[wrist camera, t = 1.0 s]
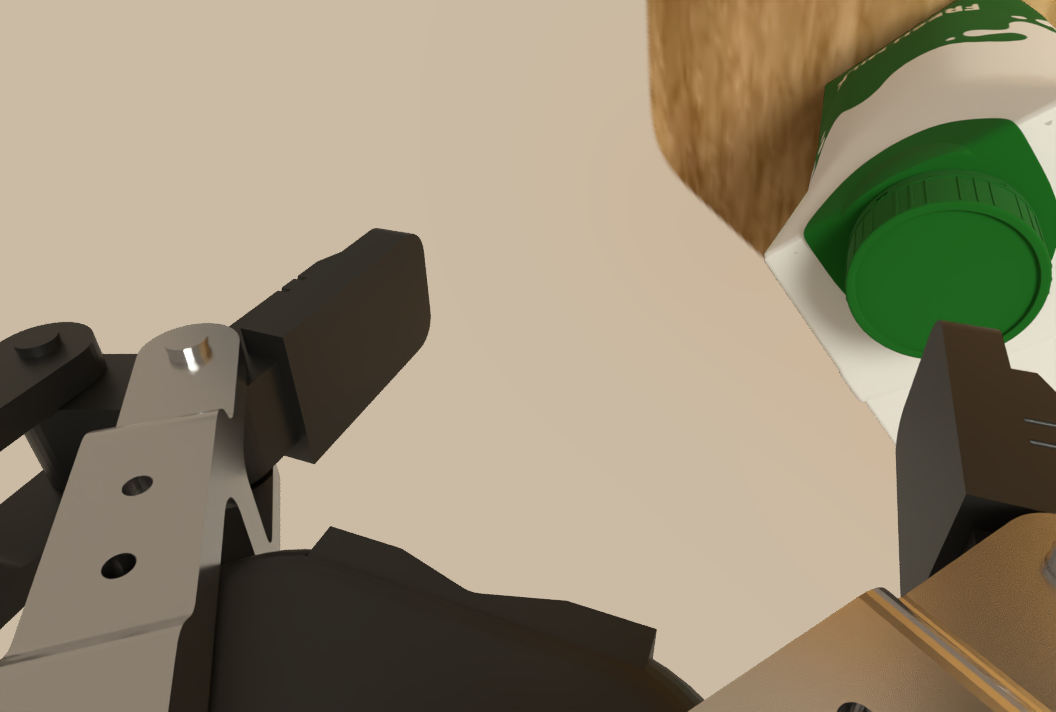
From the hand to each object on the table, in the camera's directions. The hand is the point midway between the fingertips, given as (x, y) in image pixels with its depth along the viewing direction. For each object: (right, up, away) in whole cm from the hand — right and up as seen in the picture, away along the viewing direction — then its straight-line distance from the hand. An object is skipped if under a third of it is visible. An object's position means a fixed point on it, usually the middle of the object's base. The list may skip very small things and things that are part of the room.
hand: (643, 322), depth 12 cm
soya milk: (+16, +10, +20) cm, 28 cm away
